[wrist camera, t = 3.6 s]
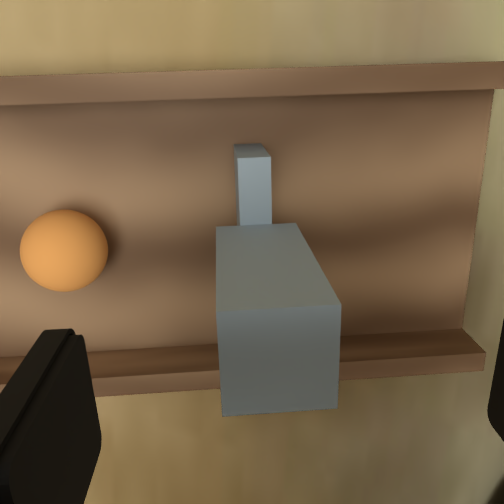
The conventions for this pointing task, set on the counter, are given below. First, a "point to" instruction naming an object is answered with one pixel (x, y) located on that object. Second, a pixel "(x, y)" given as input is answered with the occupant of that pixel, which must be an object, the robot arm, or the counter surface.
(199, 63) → the counter surface
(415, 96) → the lane
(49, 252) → the ball
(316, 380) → the grey block with post
